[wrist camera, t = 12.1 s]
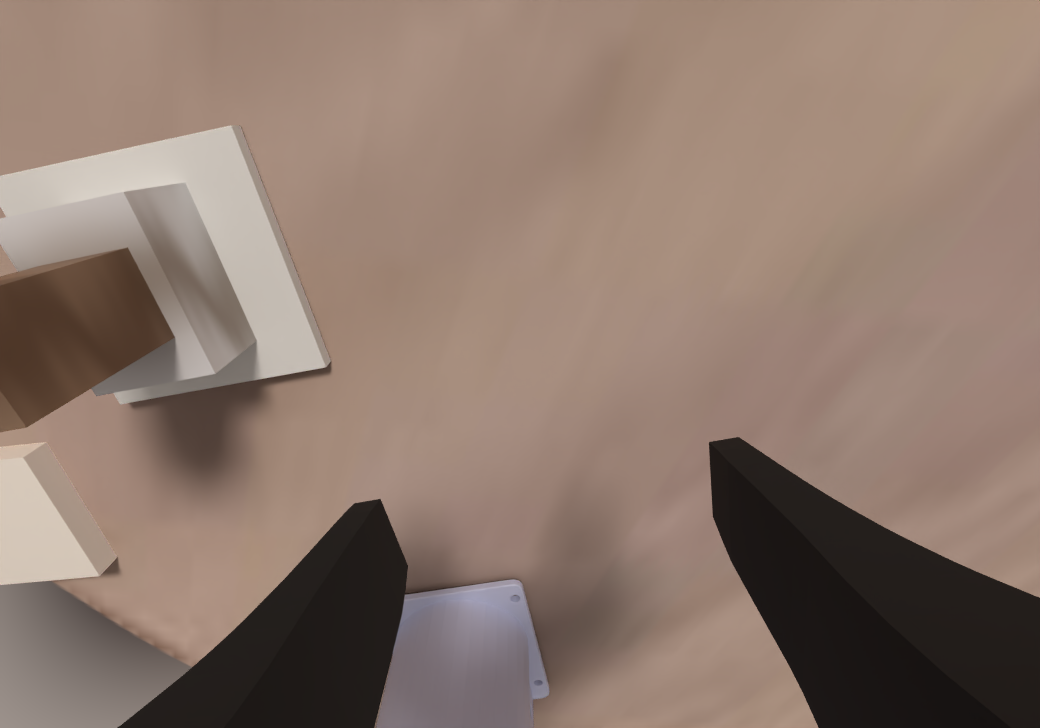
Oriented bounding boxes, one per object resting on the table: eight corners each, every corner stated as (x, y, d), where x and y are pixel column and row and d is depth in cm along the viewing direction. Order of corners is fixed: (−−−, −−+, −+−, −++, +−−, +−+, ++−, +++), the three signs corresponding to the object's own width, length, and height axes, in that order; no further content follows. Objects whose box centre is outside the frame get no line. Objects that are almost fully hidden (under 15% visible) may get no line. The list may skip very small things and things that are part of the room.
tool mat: (331, 361, 21) (326, 367, 20) (130, 397, 21) (120, 404, 21) (240, 125, 17) (231, 125, 16) (0, 177, 18) (-17, 179, 17)
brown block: (256, 340, 20) (90, 474, 12) (153, 360, 20) (-74, 503, 12) (185, 182, 17) (-83, 223, 9) (68, 207, 18) (-283, 267, 10)
